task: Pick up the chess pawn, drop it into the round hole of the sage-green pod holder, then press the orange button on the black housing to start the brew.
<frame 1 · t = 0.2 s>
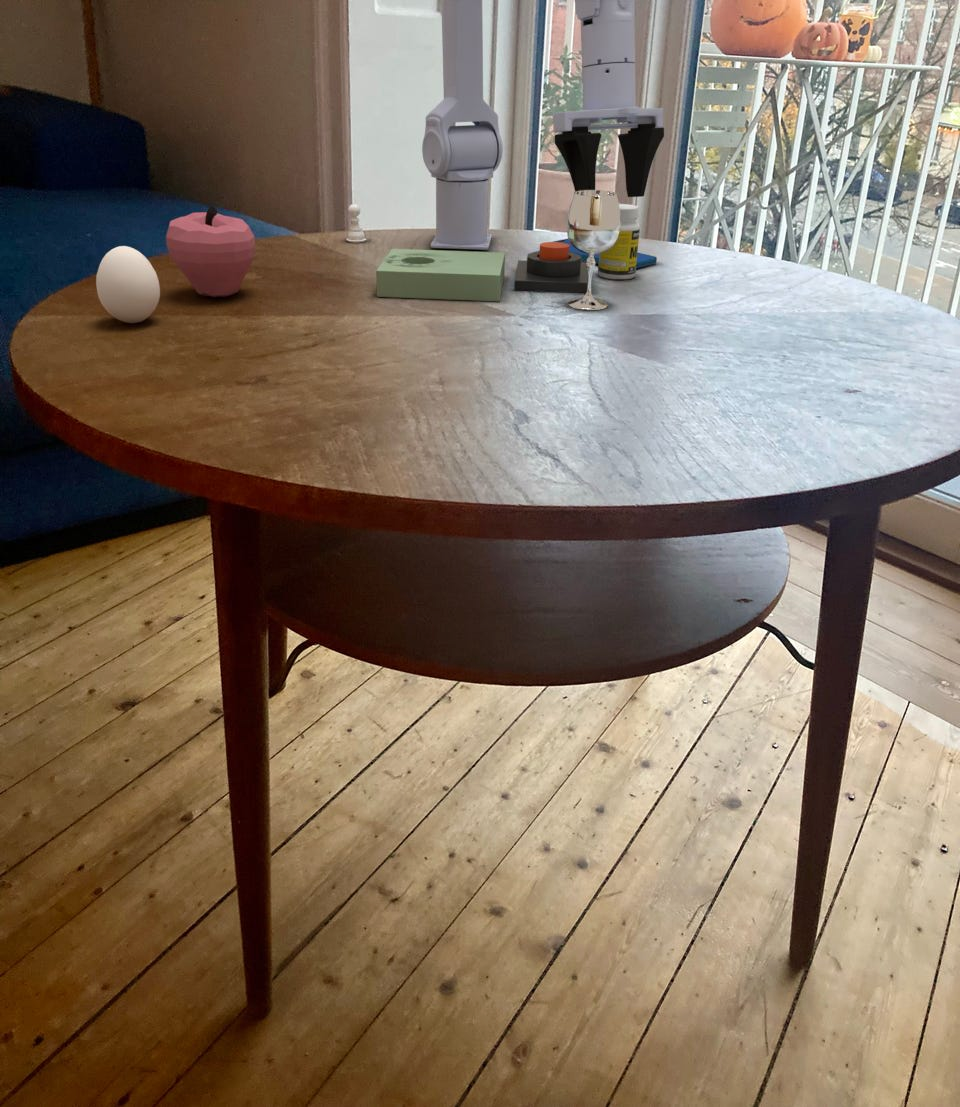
hand: (611, 199, 112), 11 cm above the table, tool pointing down, fingers open, 7 cm apart
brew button: (554, 252, 120), point 3 cm above the table, slide at 0.1 cm
smartphone: (597, 258, 134), on the table
supplement bottle: (616, 277, 125), on the table
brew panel: (552, 281, 122), on the table
egg: (133, 324, 102), on the table
chess pawn: (356, 242, 141), on the table
pod holder: (443, 286, 118), on the table
wineglass: (587, 306, 112), on the table
apple: (216, 297, 112), on the table
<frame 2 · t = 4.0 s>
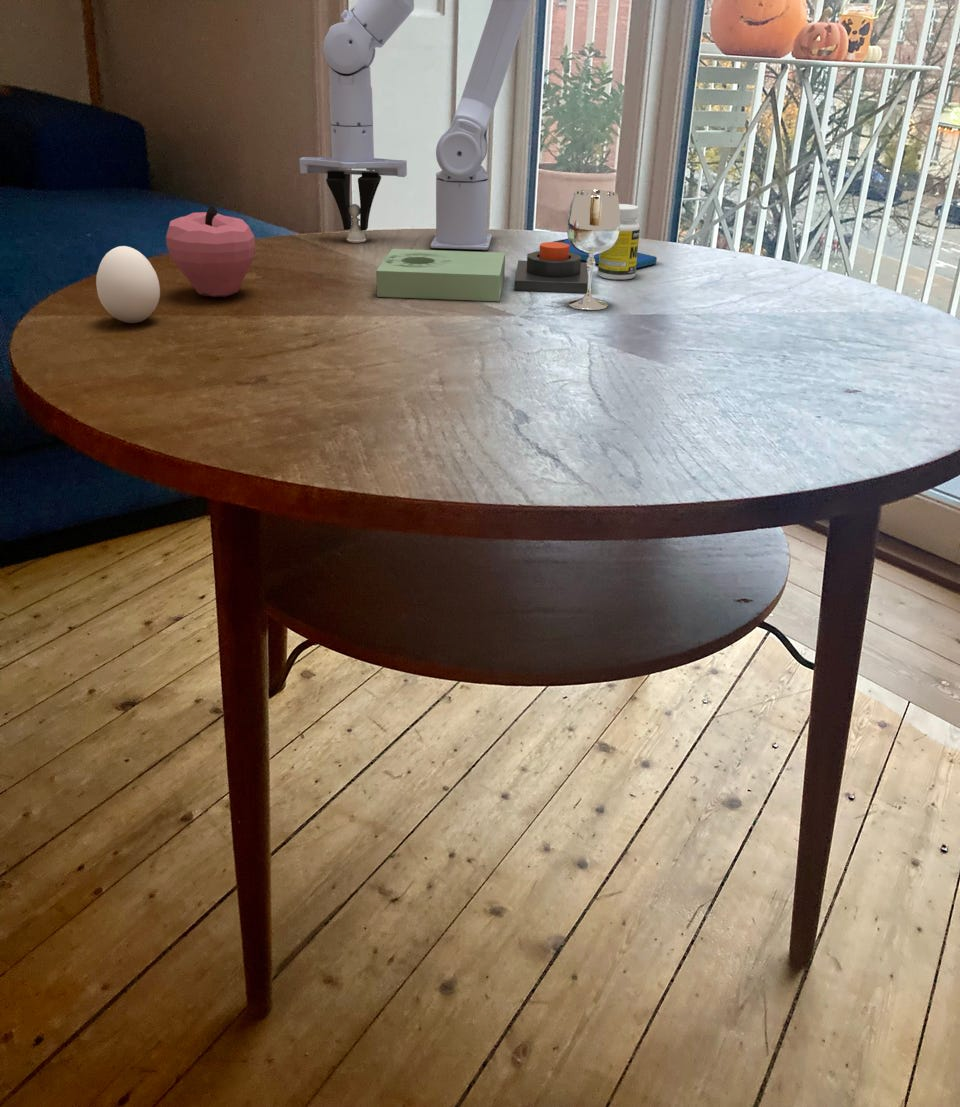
hand: (355, 229, 140), 2 cm above the table, tool pointing down, fingers closed on chess pawn, 2 cm apart
chess pawn: (356, 242, 141), on the table, touching gripper
everything else where it was.
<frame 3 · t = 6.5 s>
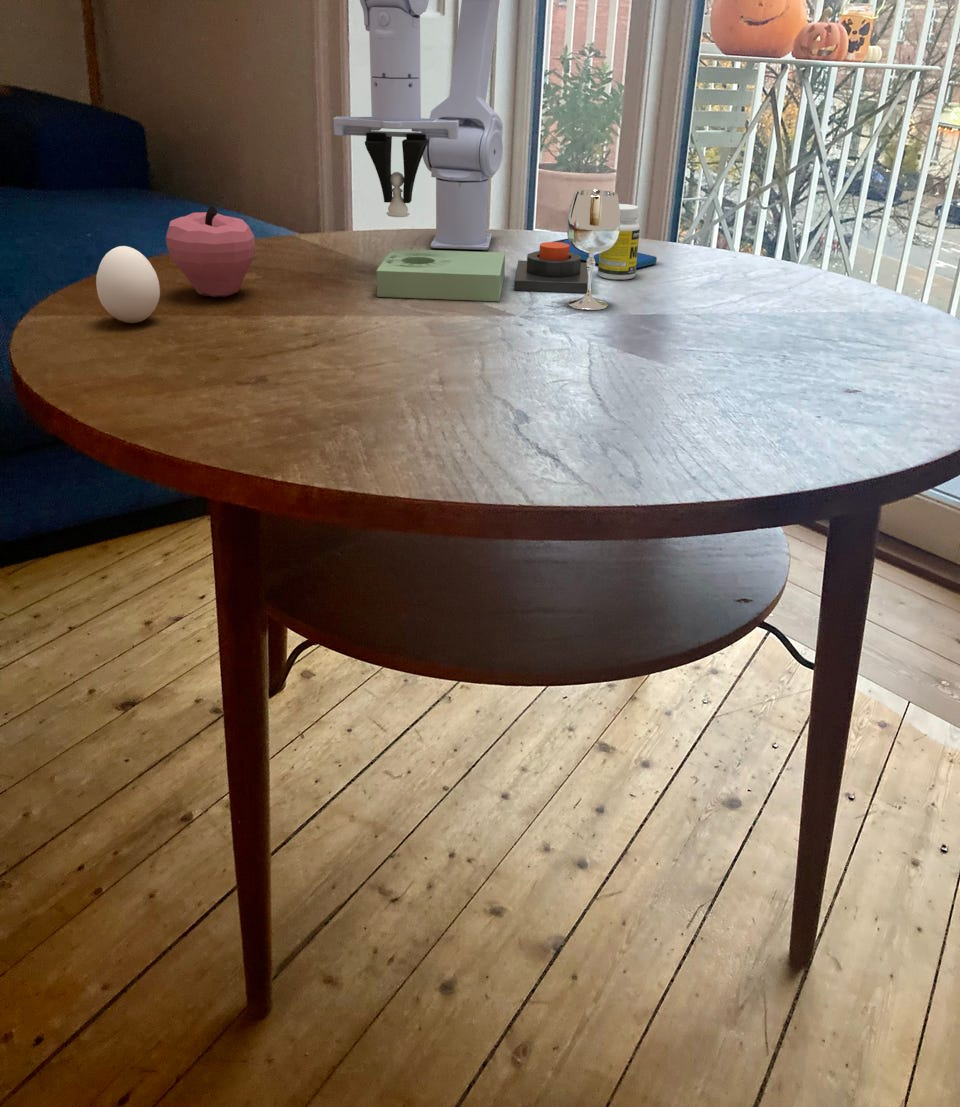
hand: (397, 201, 120), 8 cm above the table, tool pointing down, fingers closed on chess pawn
chess pawn: (397, 217, 121), point 7 cm above the table, touching gripper
everything else where it was.
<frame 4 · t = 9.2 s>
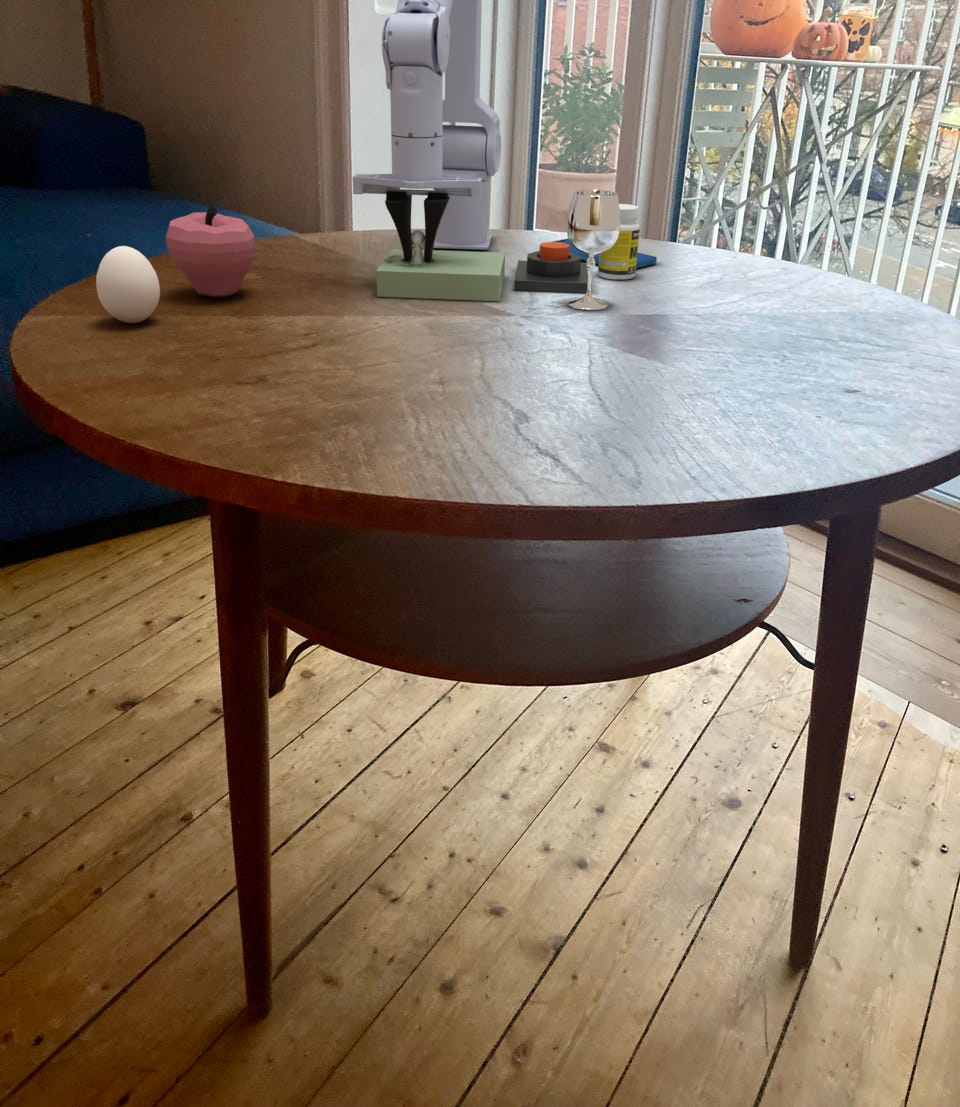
hand: (418, 259, 117), 3 cm above the table, tool pointing down, fingers closed on chess pawn, 2 cm apart
chess pawn: (418, 275, 117), point 1 cm above the table, touching gripper
everything else where it was.
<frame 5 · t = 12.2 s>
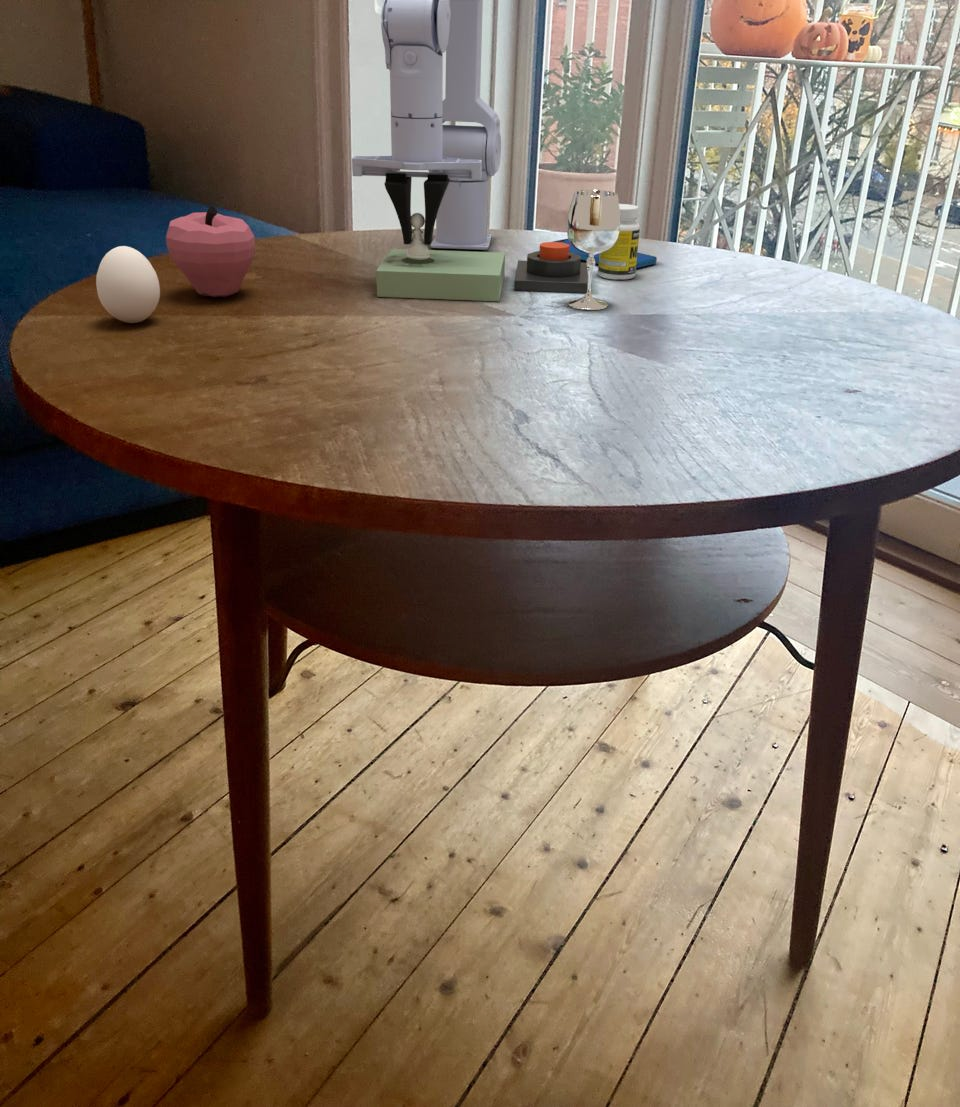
hand: (417, 243, 116), 5 cm above the table, tool pointing down, fingers closed on chess pawn
chess pawn: (418, 258, 117), point 3 cm above the table, touching gripper
everything else where it was.
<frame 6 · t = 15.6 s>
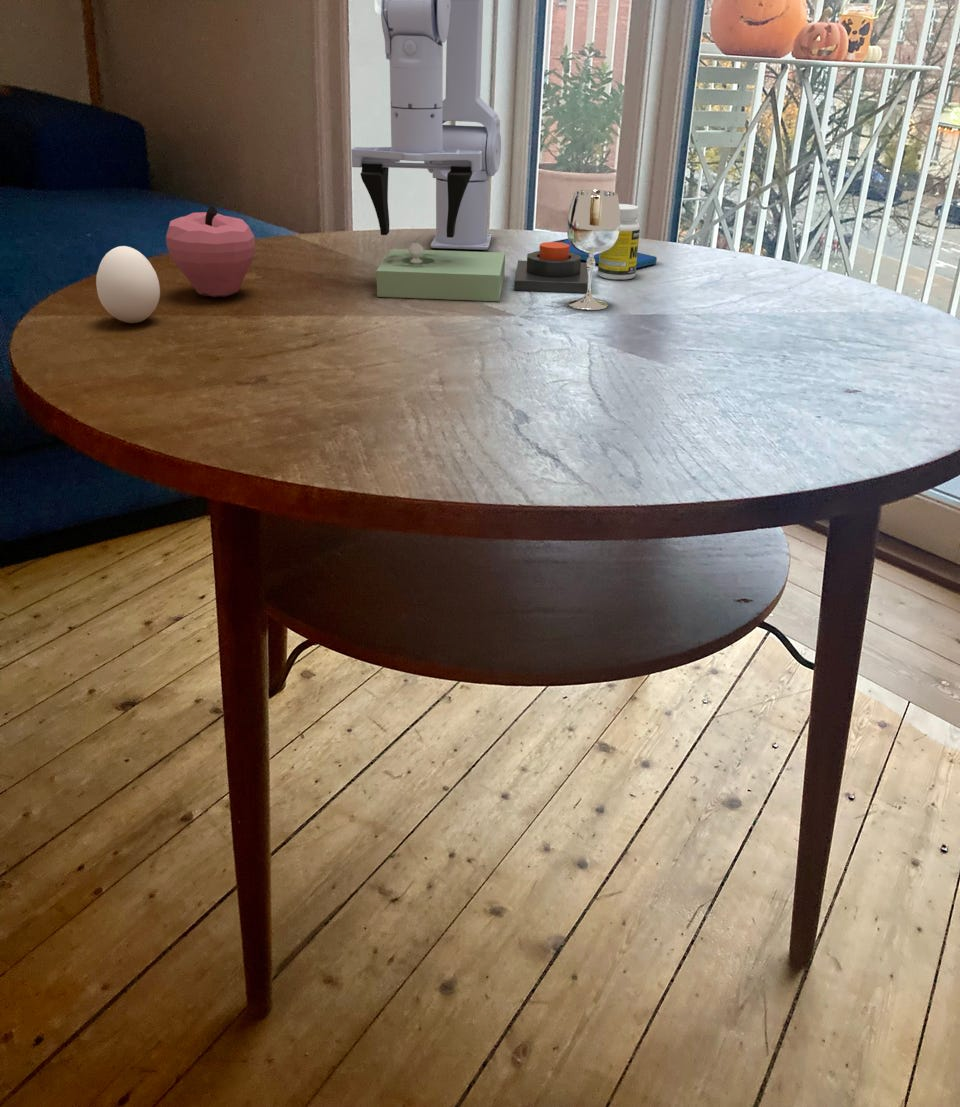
hand: (417, 234, 115), 6 cm above the table, tool pointing down, fingers open, 7 cm apart
chess pawn: (417, 287, 118), resting in pod holder
everything else where it was.
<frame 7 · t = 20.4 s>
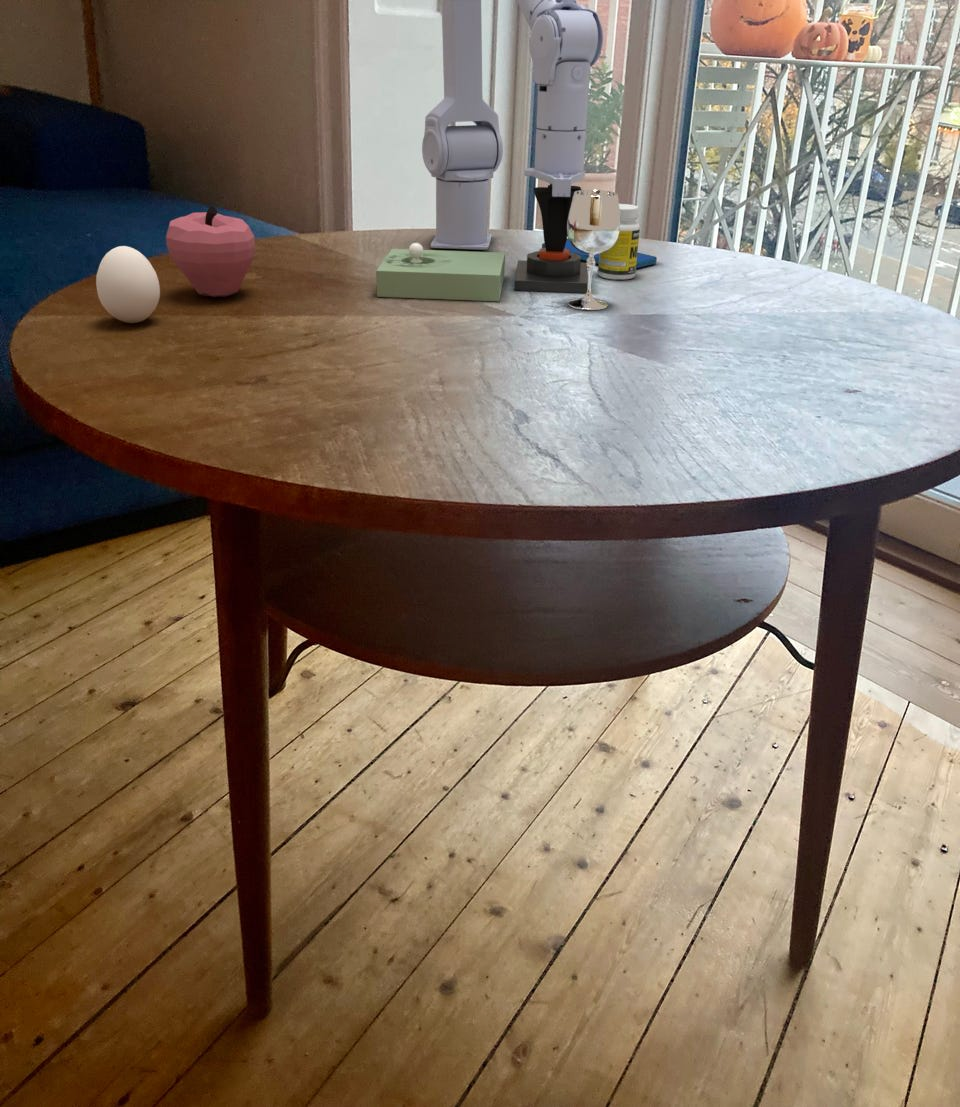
hand: (554, 250, 120), 4 cm above the table, tool pointing down, fingers closed, pressing on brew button
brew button: (554, 257, 120), point 3 cm above the table, slide at -0.6 cm, touching gripper
everything else where it was.
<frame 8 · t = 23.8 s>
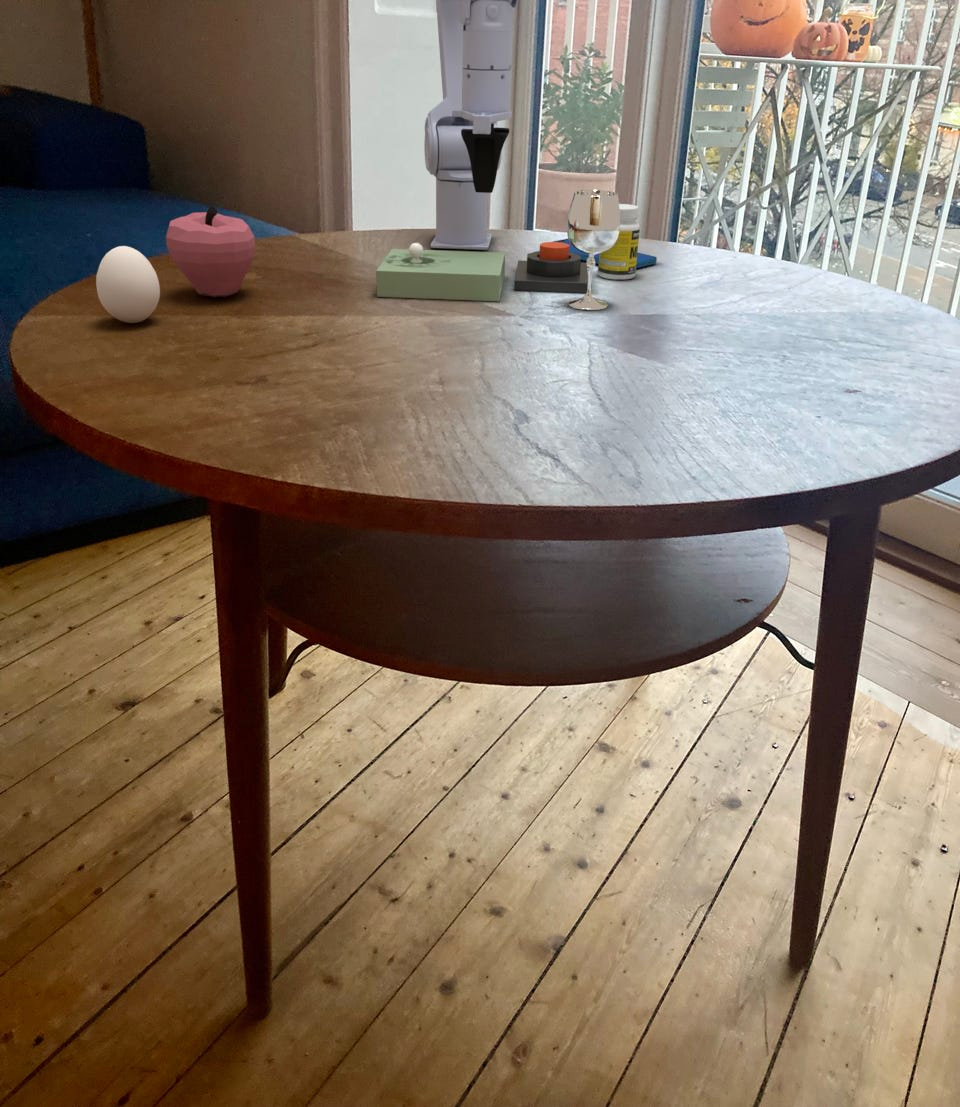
hand: (484, 191, 122), 9 cm above the table, tool pointing down, fingers closed
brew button: (554, 252, 120), point 3 cm above the table, slide at 0.1 cm
everything else where it was.
at the end: chess pawn 0.1 cm from the target spot in the pod holder, point 0.0 cm above the pod holder's base; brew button pushed in 1.0 cm at the most during the clip, back to where it started at the end; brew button slide at 0.1 cm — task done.
